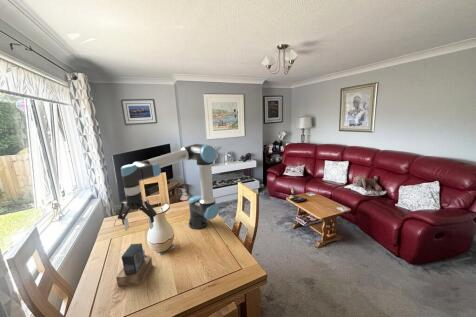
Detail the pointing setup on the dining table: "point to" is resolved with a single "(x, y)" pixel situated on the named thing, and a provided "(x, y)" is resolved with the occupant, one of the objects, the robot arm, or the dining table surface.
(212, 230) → the dining table surface
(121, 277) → the walnut base
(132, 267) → the small box
